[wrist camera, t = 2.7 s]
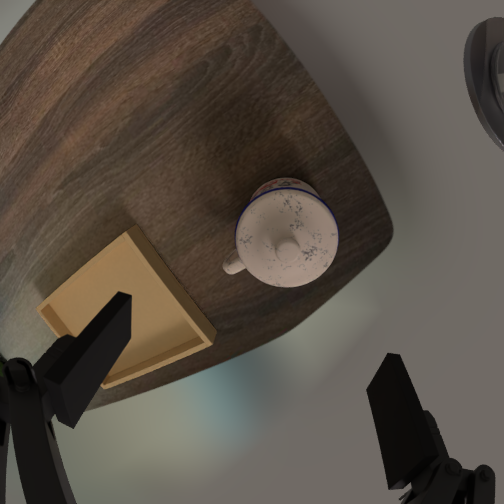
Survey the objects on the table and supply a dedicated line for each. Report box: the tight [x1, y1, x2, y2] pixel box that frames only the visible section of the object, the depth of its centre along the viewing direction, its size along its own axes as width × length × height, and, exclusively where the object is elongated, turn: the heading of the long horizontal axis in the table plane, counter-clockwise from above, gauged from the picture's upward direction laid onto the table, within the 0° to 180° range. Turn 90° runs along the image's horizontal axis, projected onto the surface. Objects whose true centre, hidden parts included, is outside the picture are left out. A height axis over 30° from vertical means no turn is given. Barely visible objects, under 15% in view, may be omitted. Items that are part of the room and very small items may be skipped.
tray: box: [36, 224, 217, 389], centre depth 41 cm, size 24×18×3 cm
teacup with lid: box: [223, 178, 339, 287], centre depth 30 cm, size 12×9×12 cm
